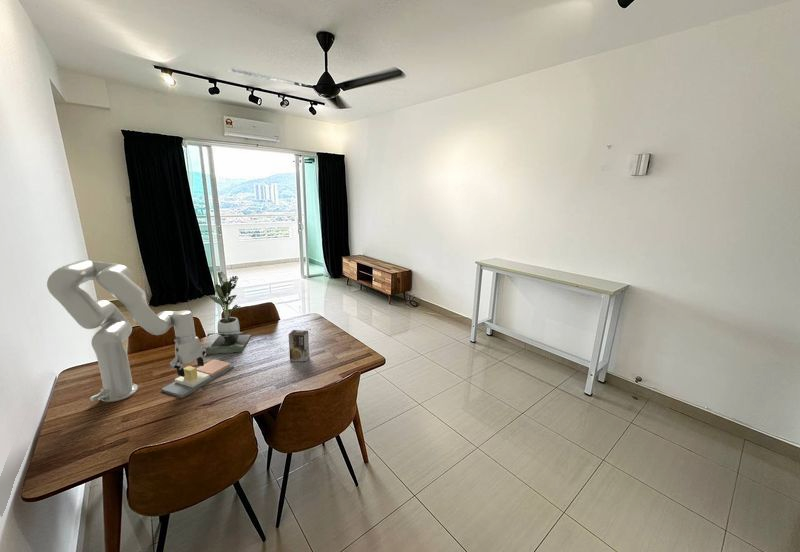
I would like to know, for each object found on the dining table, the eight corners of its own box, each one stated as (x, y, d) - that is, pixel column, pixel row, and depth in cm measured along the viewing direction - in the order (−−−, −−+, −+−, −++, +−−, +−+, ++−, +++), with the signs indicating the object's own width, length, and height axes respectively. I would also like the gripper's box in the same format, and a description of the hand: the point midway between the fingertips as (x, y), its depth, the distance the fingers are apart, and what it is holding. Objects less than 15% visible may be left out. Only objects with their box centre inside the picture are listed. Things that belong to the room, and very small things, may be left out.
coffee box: (309, 357, 179) (308, 330, 175) (305, 362, 173) (304, 335, 169) (294, 355, 180) (293, 329, 176) (289, 361, 174) (288, 334, 170)
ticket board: (182, 397, 139) (181, 392, 138) (161, 391, 143) (160, 385, 142) (233, 367, 165) (233, 362, 164) (214, 362, 169) (214, 357, 168)
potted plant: (242, 352, 181) (236, 276, 170) (206, 354, 177) (197, 277, 166) (251, 336, 202) (246, 268, 191) (218, 337, 198) (211, 268, 187)
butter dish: (192, 387, 144) (190, 374, 143) (175, 382, 148) (173, 369, 146) (209, 377, 153) (208, 365, 151) (193, 372, 156) (191, 360, 154)
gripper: (173, 346, 135) (179, 382, 139) (208, 331, 151) (213, 363, 155) (161, 344, 137) (167, 378, 142) (197, 328, 153) (202, 360, 158)
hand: (191, 370), depth 148 cm, fingers open, 9 cm apart
